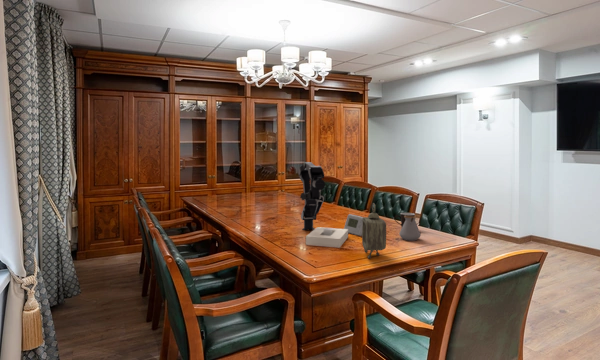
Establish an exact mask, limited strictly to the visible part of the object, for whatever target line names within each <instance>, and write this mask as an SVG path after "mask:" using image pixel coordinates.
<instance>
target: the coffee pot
mask: <svg viewBox="0 0 600 360" xmlns="http://www.w3.org/2000/svg"><path fill="white" fill-rule="evenodd" d="M404 218H405V219H406V220H405V222H404V224H403V227H402V226H401V229H400V230H399V237H401V239H402V240H404V241H408V242H409V241H411V242H414V241H417V240H418V239H420V237H421V235H422V234H421V231H420V229H419V227H418V224H417V222H416V218H417V216H416V215H415V216H404Z"/></svg>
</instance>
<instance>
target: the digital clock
mask: <svg viewBox="0 0 600 360" xmlns="http://www.w3.org/2000/svg"><path fill="white" fill-rule="evenodd" d="M346 217H347V218H346V220H345V224H344V227H343V229H348V234H351V235H354V236H359V237H362V222H363V217H364V216H360V215H356V214H352V213H349V214H348V215H347V216H346Z"/></svg>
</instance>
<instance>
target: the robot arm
mask: <svg viewBox="0 0 600 360" xmlns="http://www.w3.org/2000/svg"><path fill="white" fill-rule="evenodd" d="M298 176H299V180H300V181H301V182H302V186H303V192H302V193H300V196H299V199H301V201H304V205H303V207H302V211H301V214H300V215H301V216H300V218H301V220H302V221H303V227H302V228H301V230H302V231H313V230H315V229H316V227H314V221H316V220H317V215H318V214H319V213H320V210H321V208H322V206H323V203H324V201H325V197H324V195H321V192H322V190H323V189H325V188H326V182H325V181H324V180H323V179H325V173H324V170H323V168H322V166H321V165H315V164H313V162H311V161H310V162H309V161H305V162H303V164H302V165H301V166H300V167H299V169H298Z"/></svg>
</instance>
